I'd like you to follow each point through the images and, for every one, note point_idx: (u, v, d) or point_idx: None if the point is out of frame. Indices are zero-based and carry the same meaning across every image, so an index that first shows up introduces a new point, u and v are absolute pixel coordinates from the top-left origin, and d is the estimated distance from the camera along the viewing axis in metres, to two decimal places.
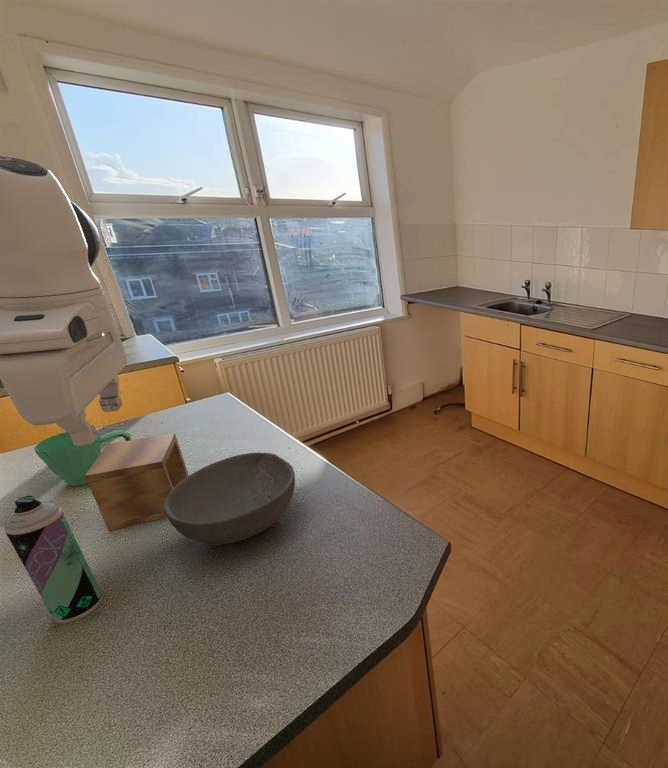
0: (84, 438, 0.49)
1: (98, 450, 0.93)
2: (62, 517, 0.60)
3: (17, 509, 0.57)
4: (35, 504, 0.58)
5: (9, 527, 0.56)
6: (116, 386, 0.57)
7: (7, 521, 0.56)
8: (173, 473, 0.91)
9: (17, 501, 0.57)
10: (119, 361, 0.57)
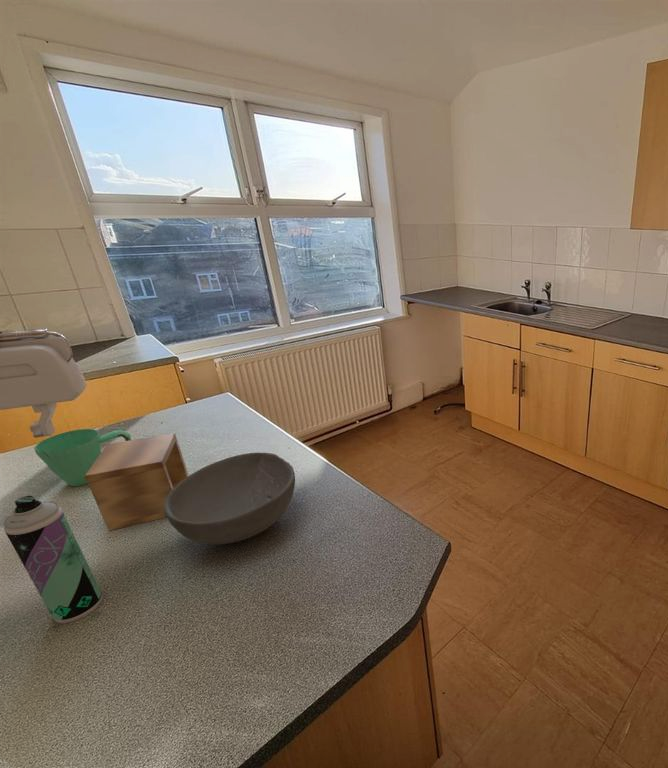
0: None
1: (98, 450, 0.93)
2: (62, 517, 0.60)
3: (17, 509, 0.57)
4: (35, 504, 0.58)
5: (9, 527, 0.56)
6: (42, 416, 0.54)
7: (7, 521, 0.56)
8: (173, 473, 0.91)
9: (17, 501, 0.57)
10: (36, 395, 0.53)
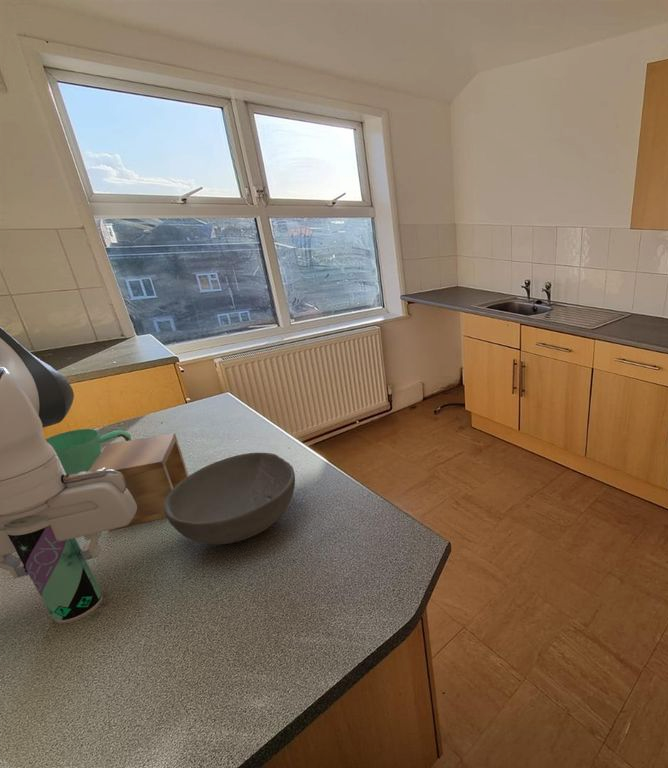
0: None
1: (98, 450, 0.93)
2: None
3: None
4: None
5: (9, 528, 0.56)
6: (91, 542, 0.62)
7: None
8: (173, 473, 0.91)
9: None
10: (97, 525, 0.60)
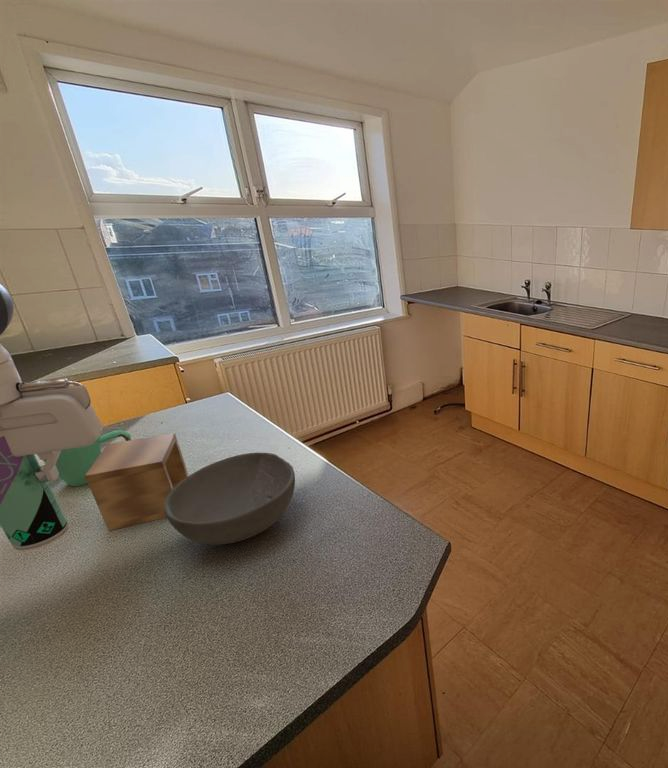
0: None
1: (98, 450, 0.93)
2: None
3: None
4: None
5: None
6: (47, 462, 0.56)
7: None
8: (173, 473, 0.91)
9: None
10: (56, 442, 0.55)
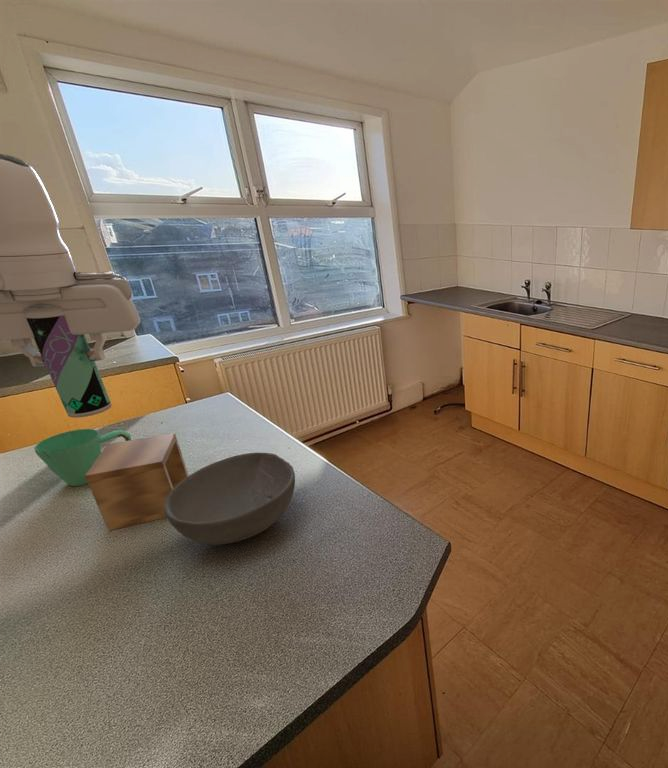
0: None
1: (98, 450, 0.93)
2: None
3: None
4: None
5: (28, 311, 0.62)
6: (96, 343, 0.68)
7: None
8: (173, 473, 0.91)
9: None
10: (104, 324, 0.67)
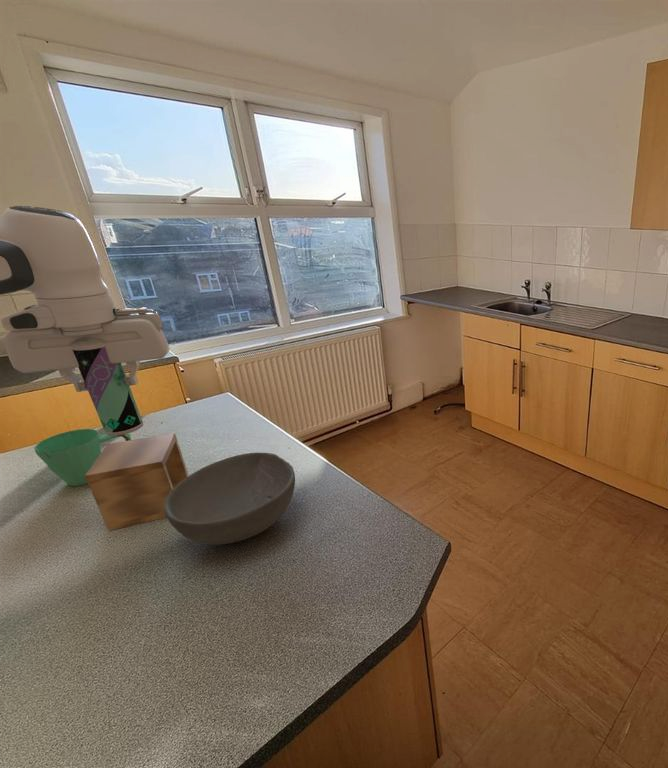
0: None
1: (98, 450, 0.93)
2: None
3: None
4: None
5: (74, 344, 0.71)
6: (131, 370, 0.77)
7: None
8: (173, 473, 0.91)
9: None
10: (139, 354, 0.76)
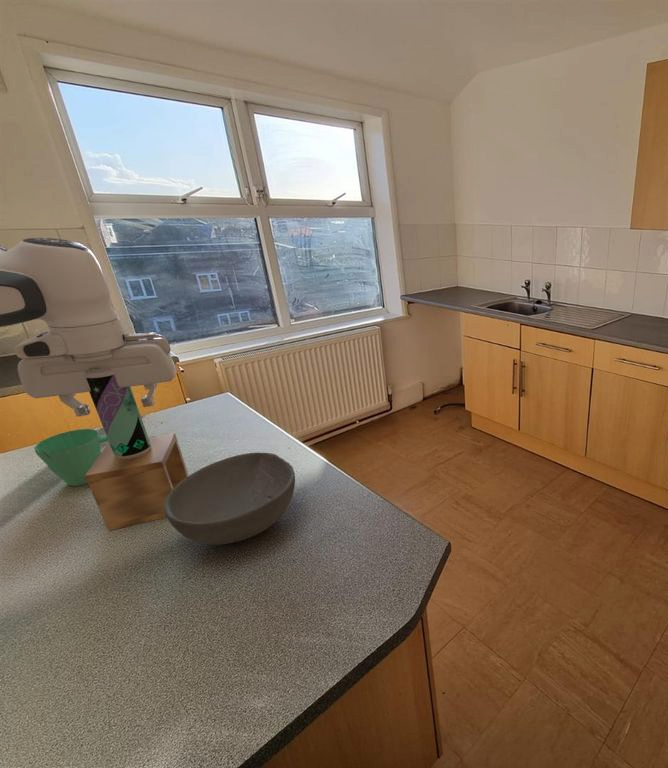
0: None
1: (98, 450, 0.93)
2: None
3: None
4: None
5: (87, 372, 0.73)
6: (149, 392, 0.79)
7: None
8: (173, 473, 0.91)
9: None
10: (148, 377, 0.78)
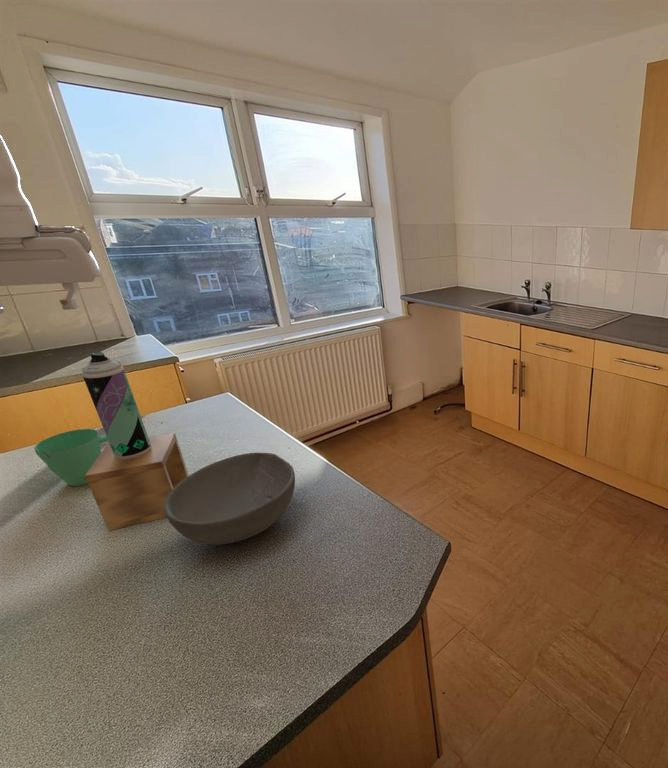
0: None
1: (98, 450, 0.93)
2: (124, 372, 0.77)
3: (92, 360, 0.74)
4: (105, 358, 0.75)
5: (87, 372, 0.73)
6: (69, 292, 0.74)
7: (85, 368, 0.74)
8: (173, 473, 0.91)
9: (92, 354, 0.74)
10: (65, 275, 0.72)
